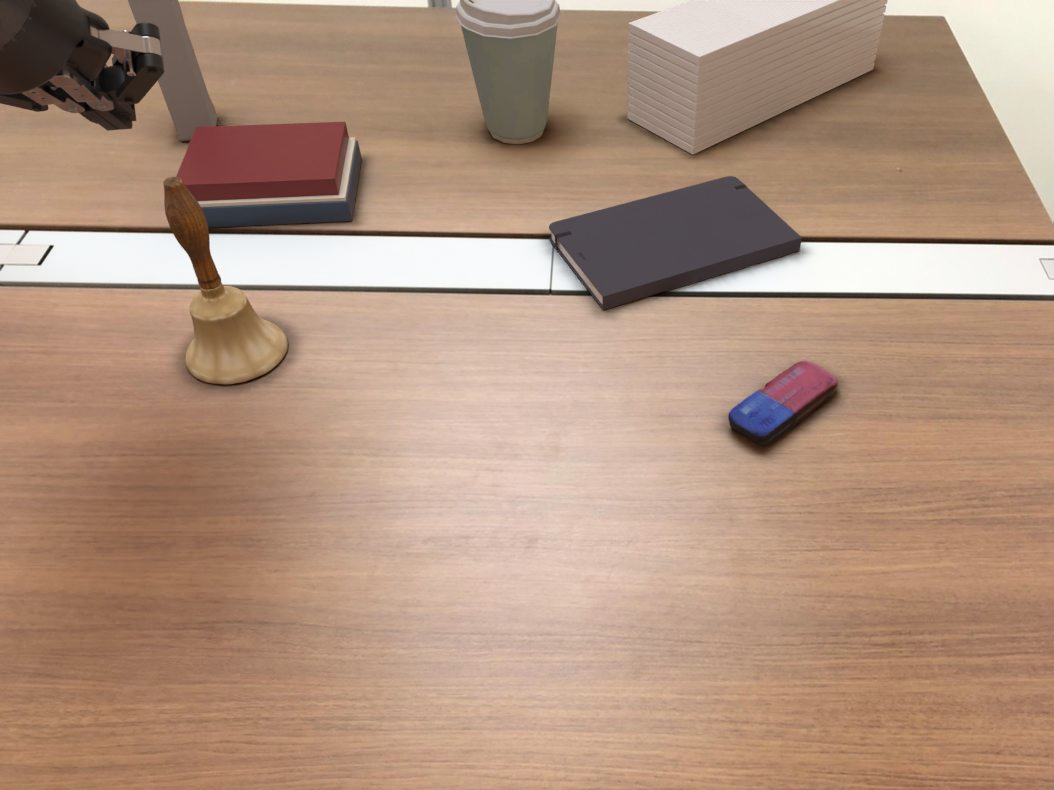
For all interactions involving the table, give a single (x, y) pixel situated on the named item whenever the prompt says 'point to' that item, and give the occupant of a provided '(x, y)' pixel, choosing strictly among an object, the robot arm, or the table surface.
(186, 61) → the tall grey plank
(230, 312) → the hand bell
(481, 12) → the disposable coffee cup
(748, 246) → the notebook
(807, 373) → the eraser
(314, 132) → the book stack
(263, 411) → the table surface
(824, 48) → the stack of papers
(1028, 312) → the table surface
